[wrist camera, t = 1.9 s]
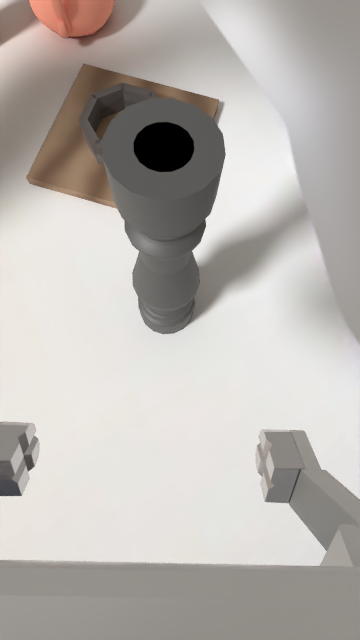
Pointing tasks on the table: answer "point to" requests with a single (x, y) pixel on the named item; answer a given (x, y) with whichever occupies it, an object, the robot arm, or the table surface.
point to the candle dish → (95, 131)
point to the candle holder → (164, 199)
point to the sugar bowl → (73, 15)
